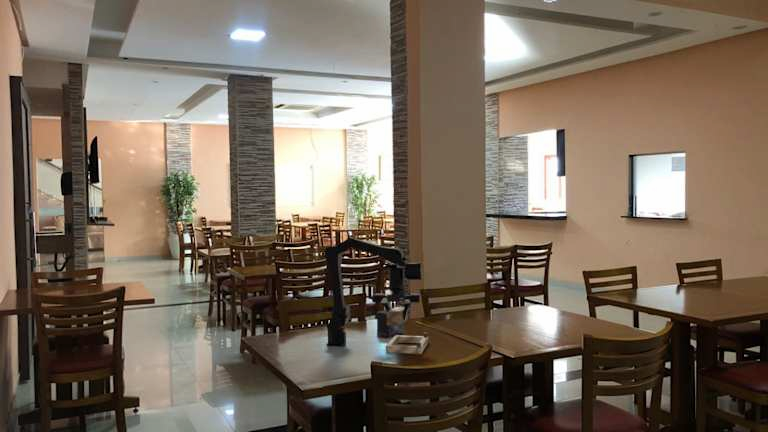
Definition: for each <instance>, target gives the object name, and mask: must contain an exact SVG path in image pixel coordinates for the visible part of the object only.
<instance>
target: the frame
mask: <svg viewBox="0 0 768 432" xmlns="http://www.w3.org/2000/svg"><path fill="white" fill-rule="evenodd" d="M408 312H409V311H408ZM408 312H407V315H406V319H405V320H404V306H394V307H393V308H391V310H390V311H388V312H387V325H395V326H400V325H401V324H402V325H403V324H404V323H405V322H406V321H408V320H409V317H408Z"/></svg>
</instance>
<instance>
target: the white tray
mask: <svg viewBox="0 0 768 432" xmlns="http://www.w3.org/2000/svg"><path fill="white" fill-rule="evenodd" d="M428 333H429V332H426V331H425V332H423V335H395V336H393V337H392V338H391V340H389V342H387V344H386V346H385V353H386V354H390V353H392V354H395V353H396V354H414V355H423V352H424V350H425V349H426V348H427V346H428V344H429V336H428ZM400 343H403V344H405V343H406V344H407V343H408V344H416V345H401V344H400ZM398 344H400V345H398Z"/></svg>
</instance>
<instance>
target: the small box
mask: <svg viewBox="0 0 768 432" xmlns="http://www.w3.org/2000/svg"><path fill="white" fill-rule="evenodd" d="M395 335H399V336H401V335H403V323H402V324H401V325H400V326H395V325H387V311H386V309H384V310H381V311H380V310H379V311H377V312H376V337H381V338H386V339H390V338H393V337H394V336H395Z"/></svg>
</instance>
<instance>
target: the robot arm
mask: <svg viewBox="0 0 768 432" xmlns="http://www.w3.org/2000/svg"><path fill="white" fill-rule="evenodd" d="M351 248H352V249H355V250H358V251H361V252H365V253H368V254H372V255H374V256H378V257H380V258H382V259H384V260H385V261H387V263H386V265H385V266H384V267H383V269H384V270H388V283H389V284H388V290H387V292H386V293H385V292H383V293H381V292H380V293H374V294H373V295H372V298H371V300H372V301H371V302H372V303H380V305H383V307H384V309H385V310H386V311H387V312H388V311H390V310H391V309H392V305H391V302H394V303H399V302H401V301H405V302H404V303H403V304H404V305H403V307H404V320H405V319H406V315H407V312H409V308H410V306H411V305H413V304H414V303H417V304H418V303H421V302H422V294H421V293H419V292H417V293H415V292H414V293H410V294H409V295H406V289H405V284H404V279H407V280H408V281H423V278H424V276H423V275H424V271H423V266H422V262H409V260H407V258H406V257H405V254H404V251H403V250H402V248H400V247H394V246H381V245H379V244H375V243H372V242H368V241H365V240H362V239H358V238H356V237H354V236H351V237H349V238H346V239H345V240H343V241H342V242H339V243H338V244H333V245H330V246H328V247H326V248H325V249H324V252H323V254H324V258H325V262H326V264H327V266H328V268H329V272H330V273H329V274H330V282H331V291H332V299H333V302H332V303H333V305H332V310H331V320H330V321H329V322H328V324H326V326H325V327H326V330H327V343H326V346H338V347H343V346H344V345H345V344H346V343H347V332H346V330H345V328H346V327H345V325H346V324H347V323H348V322H349V320H350V317H351V316H352V314H351V306H350V305H347V304H346V302H345V296H344V287H343V277H342V268H341V267H342V263H343V262H342V261H343V254H344V253H345V252H347V251H349V250H350V249H351Z"/></svg>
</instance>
